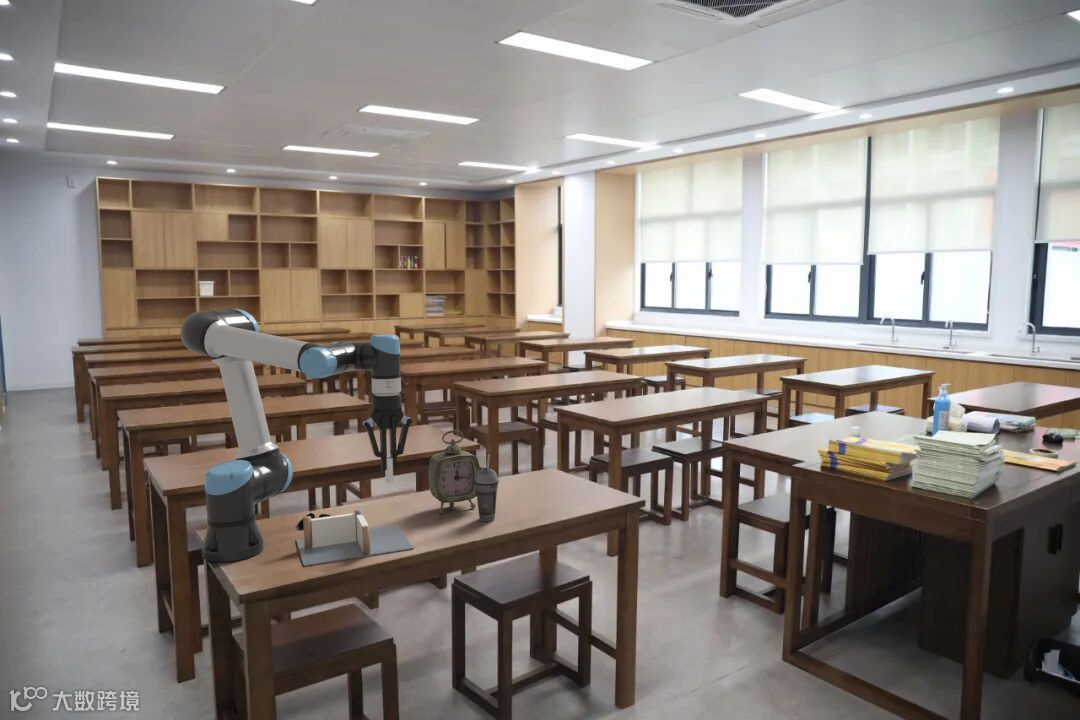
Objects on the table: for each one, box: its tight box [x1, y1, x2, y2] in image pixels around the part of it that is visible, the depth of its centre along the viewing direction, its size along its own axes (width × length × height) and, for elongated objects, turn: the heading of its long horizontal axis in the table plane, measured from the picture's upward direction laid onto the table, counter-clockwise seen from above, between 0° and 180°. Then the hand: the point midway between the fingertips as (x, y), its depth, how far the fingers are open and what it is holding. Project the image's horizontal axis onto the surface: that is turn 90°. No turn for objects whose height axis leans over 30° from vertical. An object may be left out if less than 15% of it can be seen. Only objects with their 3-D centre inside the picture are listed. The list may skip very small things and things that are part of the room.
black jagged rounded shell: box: [297, 512, 332, 532], centre depth 214 cm, size 12×10×5 cm
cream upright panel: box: [356, 514, 371, 554], centre depth 194 cm, size 11×2×7 cm, turn 23°
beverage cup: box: [474, 453, 500, 522], centre depth 216 cm, size 7×7×20 cm
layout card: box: [295, 524, 414, 567], centre depth 197 cm, size 28×20×1 cm
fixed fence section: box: [302, 509, 363, 548], centre depth 197 cm, size 16×2×9 cm, turn 114°
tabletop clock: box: [427, 430, 481, 514], centre depth 226 cm, size 14×9×25 cm, turn 117°
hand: (389, 481), depth 193 cm, fingers closed
